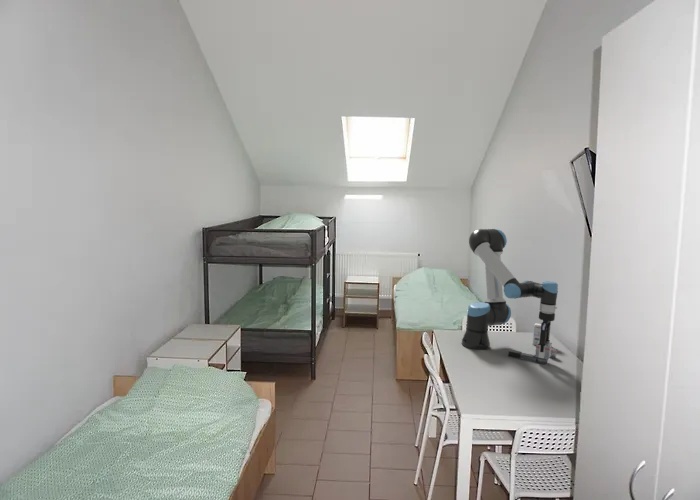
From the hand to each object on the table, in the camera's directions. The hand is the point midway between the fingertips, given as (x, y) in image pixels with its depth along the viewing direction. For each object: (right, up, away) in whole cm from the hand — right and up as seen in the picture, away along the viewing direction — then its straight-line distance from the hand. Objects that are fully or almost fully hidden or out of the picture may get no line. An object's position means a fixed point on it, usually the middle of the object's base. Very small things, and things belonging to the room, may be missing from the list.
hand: (542, 355), depth 265 cm
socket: (0, 0, 0) cm, 0 cm away
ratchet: (-6, -3, +4) cm, 8 cm away
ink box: (+10, 0, +30) cm, 32 cm away
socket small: (+8, -3, +9) cm, 13 cm away
